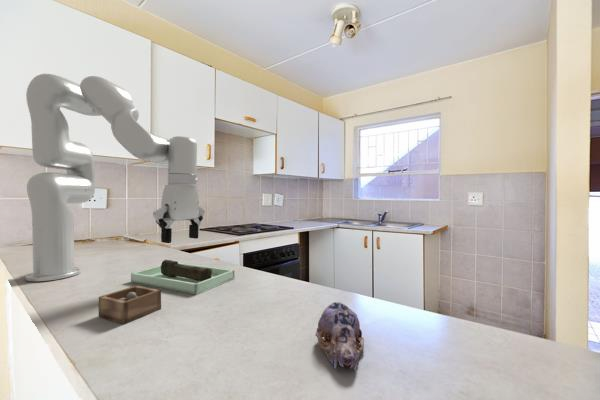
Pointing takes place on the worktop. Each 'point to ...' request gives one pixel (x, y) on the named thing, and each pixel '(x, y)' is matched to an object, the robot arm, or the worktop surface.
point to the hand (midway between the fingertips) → (180, 240)
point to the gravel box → (129, 304)
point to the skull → (340, 335)
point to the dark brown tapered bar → (185, 271)
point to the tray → (182, 279)
